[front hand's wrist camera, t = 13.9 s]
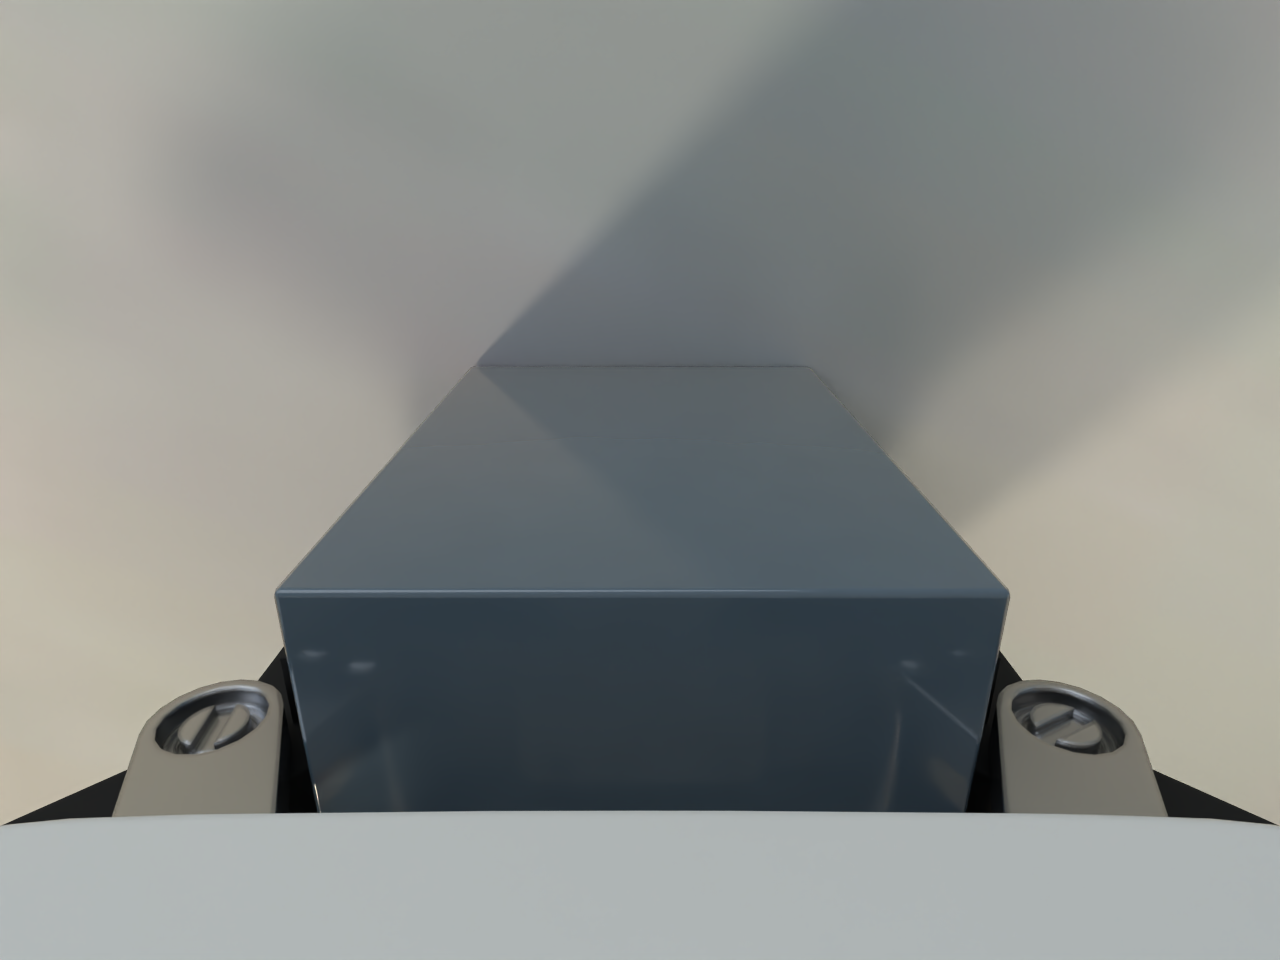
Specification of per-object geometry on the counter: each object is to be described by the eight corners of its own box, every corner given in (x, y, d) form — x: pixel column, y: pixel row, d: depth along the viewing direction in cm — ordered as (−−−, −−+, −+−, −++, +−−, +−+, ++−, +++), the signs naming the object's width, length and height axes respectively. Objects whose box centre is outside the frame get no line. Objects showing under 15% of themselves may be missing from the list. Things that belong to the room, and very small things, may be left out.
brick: (810, 366, 13) (1015, 590, 6) (785, 659, 15) (913, 1080, 8) (470, 365, 13) (269, 592, 6) (494, 659, 15) (367, 1080, 8)
